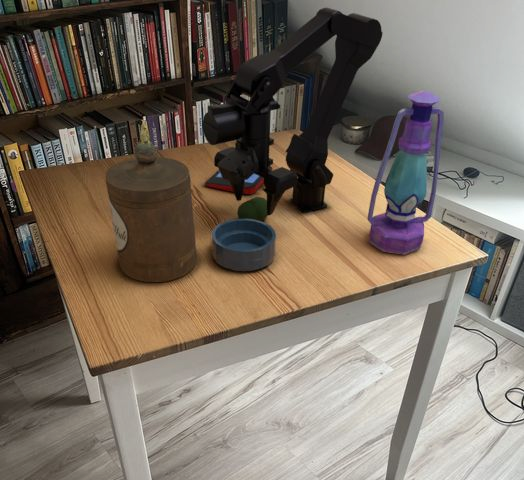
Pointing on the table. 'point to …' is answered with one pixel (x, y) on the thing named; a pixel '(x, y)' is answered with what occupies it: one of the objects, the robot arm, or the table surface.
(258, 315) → the table surface
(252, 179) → the game console
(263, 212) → the green rounded cylinder
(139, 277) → the wooden container
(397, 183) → the lantern
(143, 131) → the vegetable
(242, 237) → the bowl
